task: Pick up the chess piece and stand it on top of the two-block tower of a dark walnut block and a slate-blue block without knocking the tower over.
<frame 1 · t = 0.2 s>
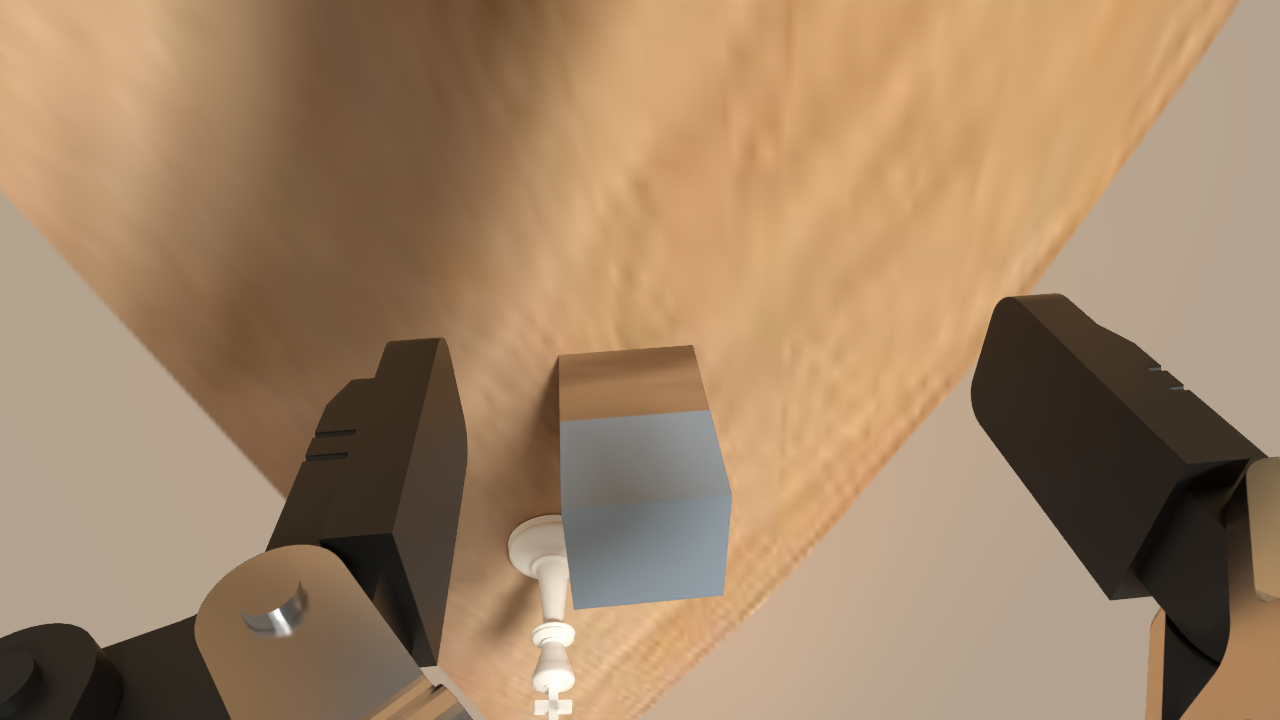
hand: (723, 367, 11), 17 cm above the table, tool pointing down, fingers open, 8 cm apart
chess piece: (553, 540, 40), on the table
slate-blue block: (637, 468, 30), point 4 cm above the table, touching walnut block
walnut block: (628, 399, 34), on the table, touching slate-blue block
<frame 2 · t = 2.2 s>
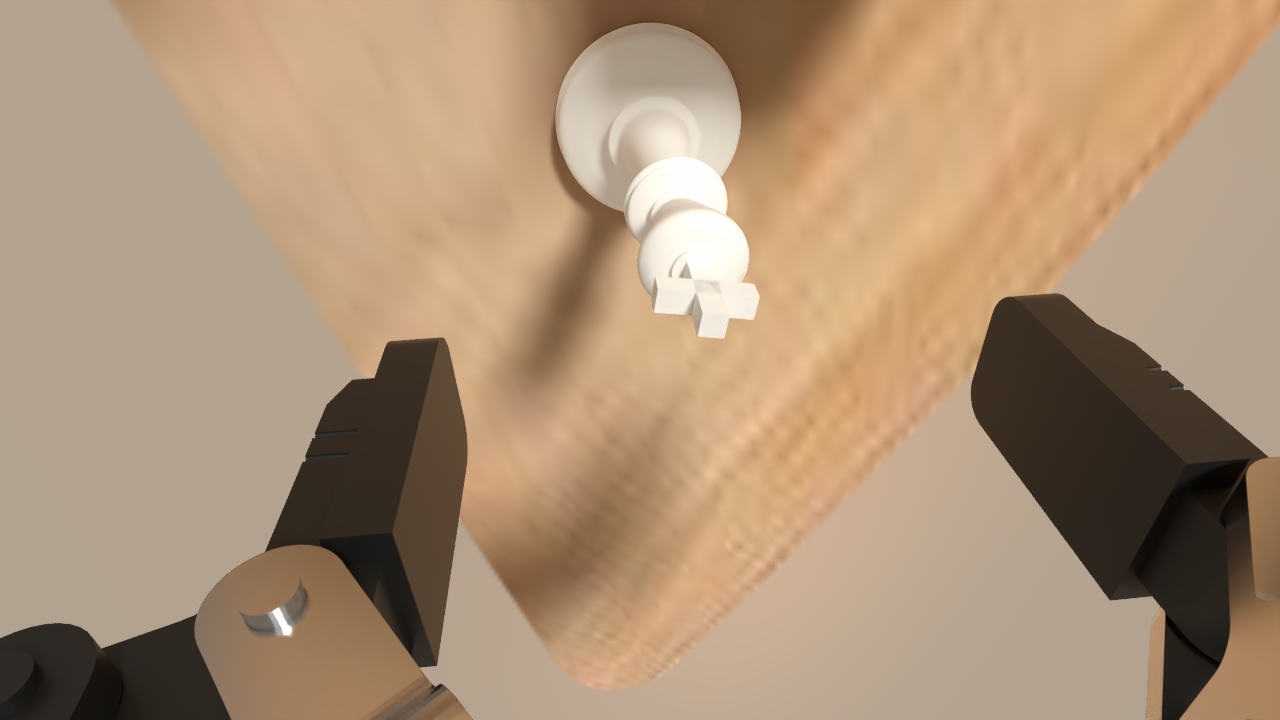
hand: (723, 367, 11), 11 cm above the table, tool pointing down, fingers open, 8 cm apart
chess piece: (647, 119, 19), on the table
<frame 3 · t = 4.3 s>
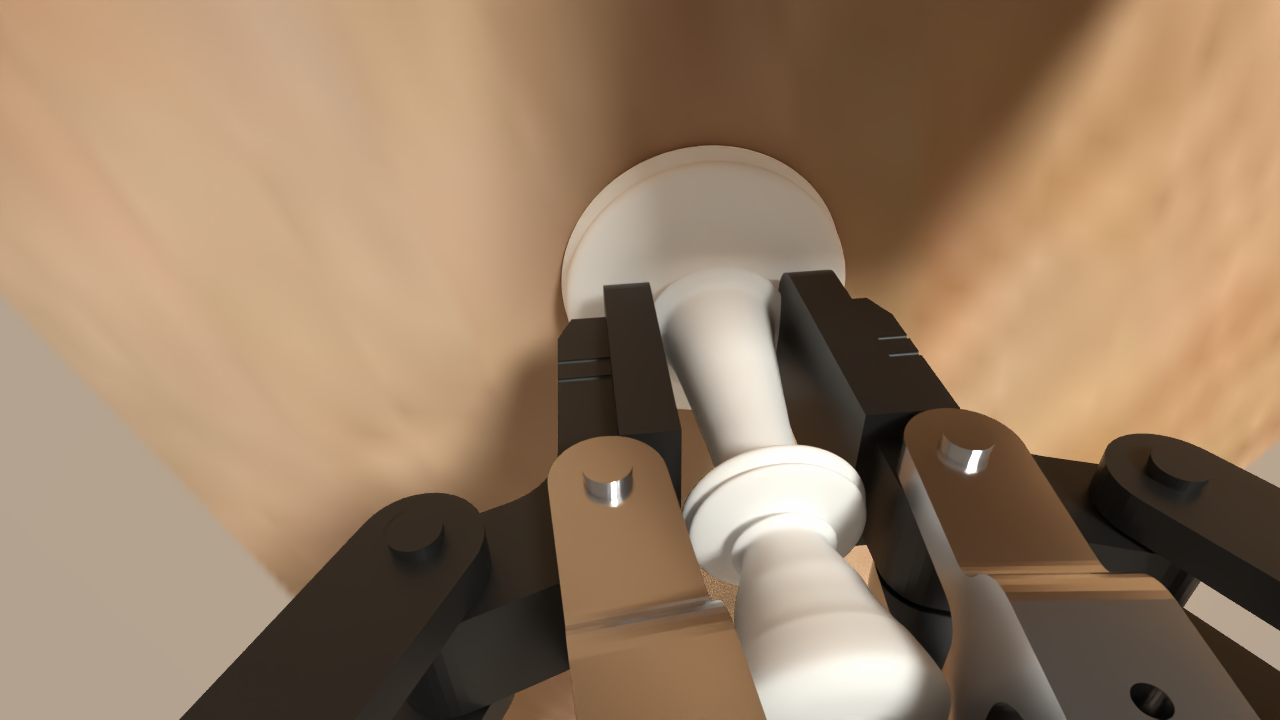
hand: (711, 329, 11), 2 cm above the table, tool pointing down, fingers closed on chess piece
chess piece: (699, 275, 13), on the table, touching gripper
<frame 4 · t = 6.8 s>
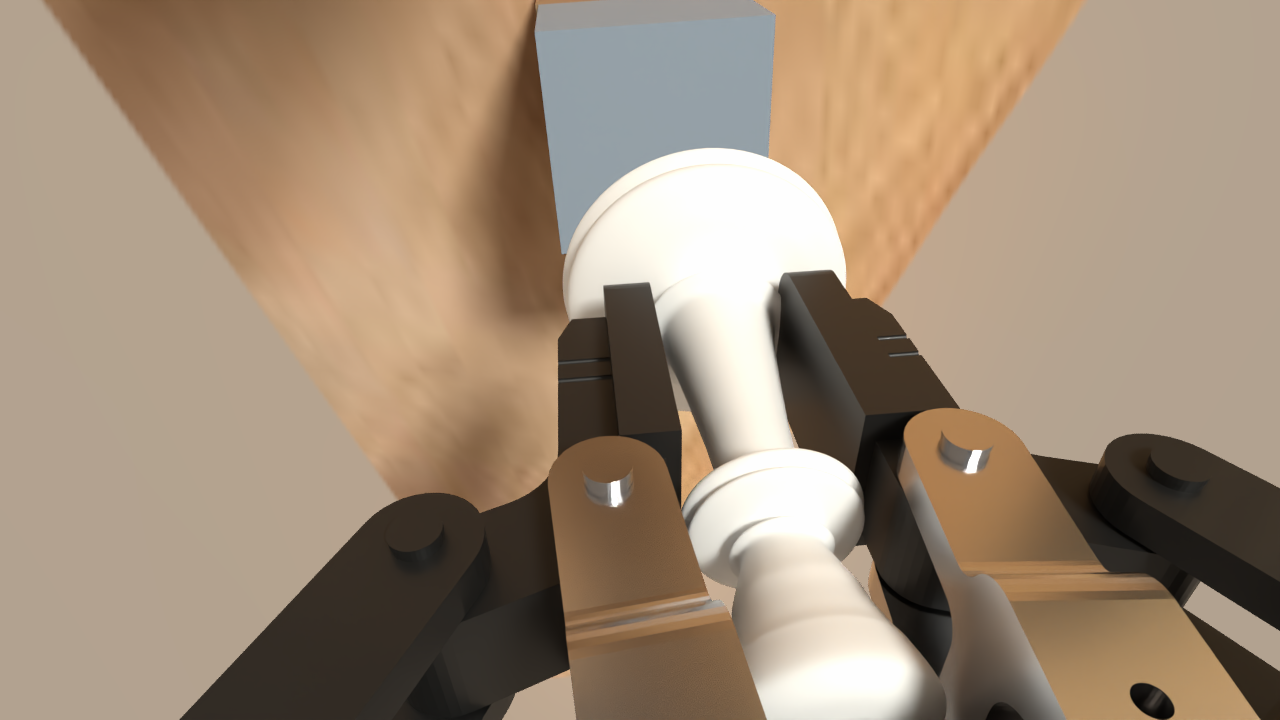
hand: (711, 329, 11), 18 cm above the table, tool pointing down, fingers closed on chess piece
chess piece: (700, 278, 13), point 17 cm above the table, touching gripper
slate-blue block: (643, 100, 23), point 4 cm above the table, touching walnut block
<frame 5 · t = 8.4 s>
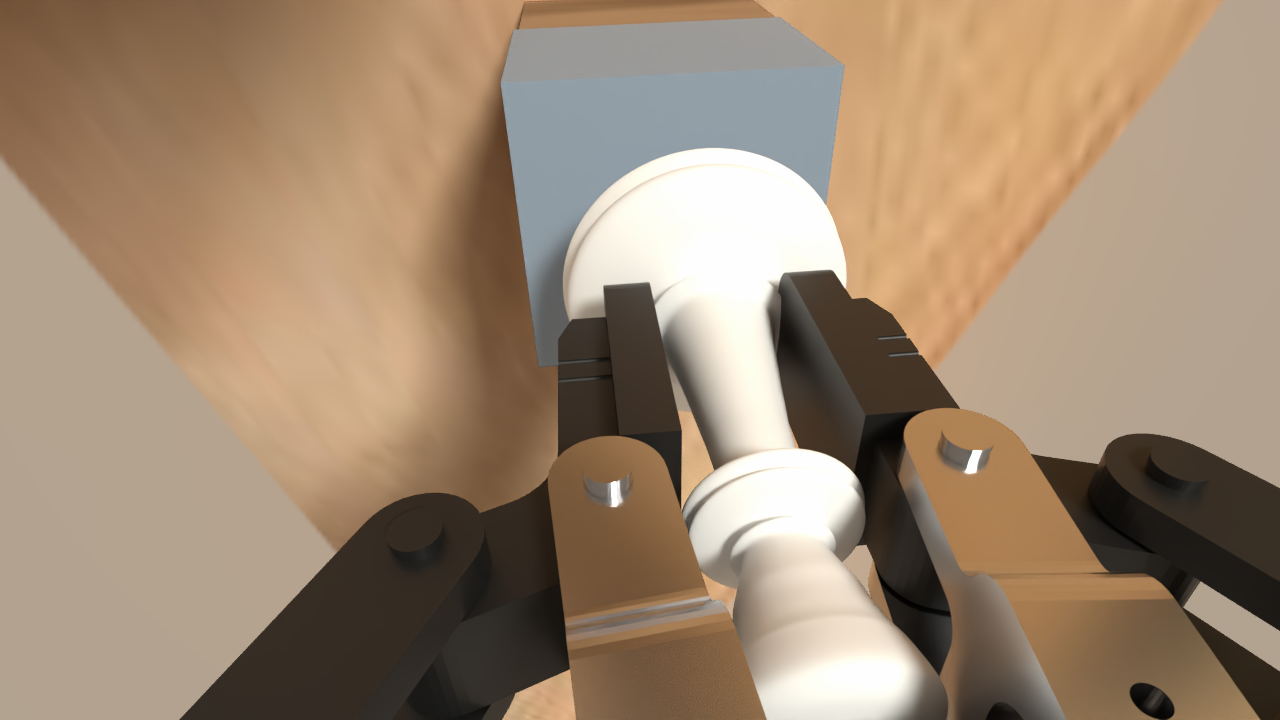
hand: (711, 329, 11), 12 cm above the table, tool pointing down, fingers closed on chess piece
chess piece: (700, 278, 13), point 10 cm above the table, touching gripper
slate-blue block: (650, 154, 18), point 4 cm above the table, touching walnut block
walnut block: (637, 106, 22), on the table, touching slate-blue block
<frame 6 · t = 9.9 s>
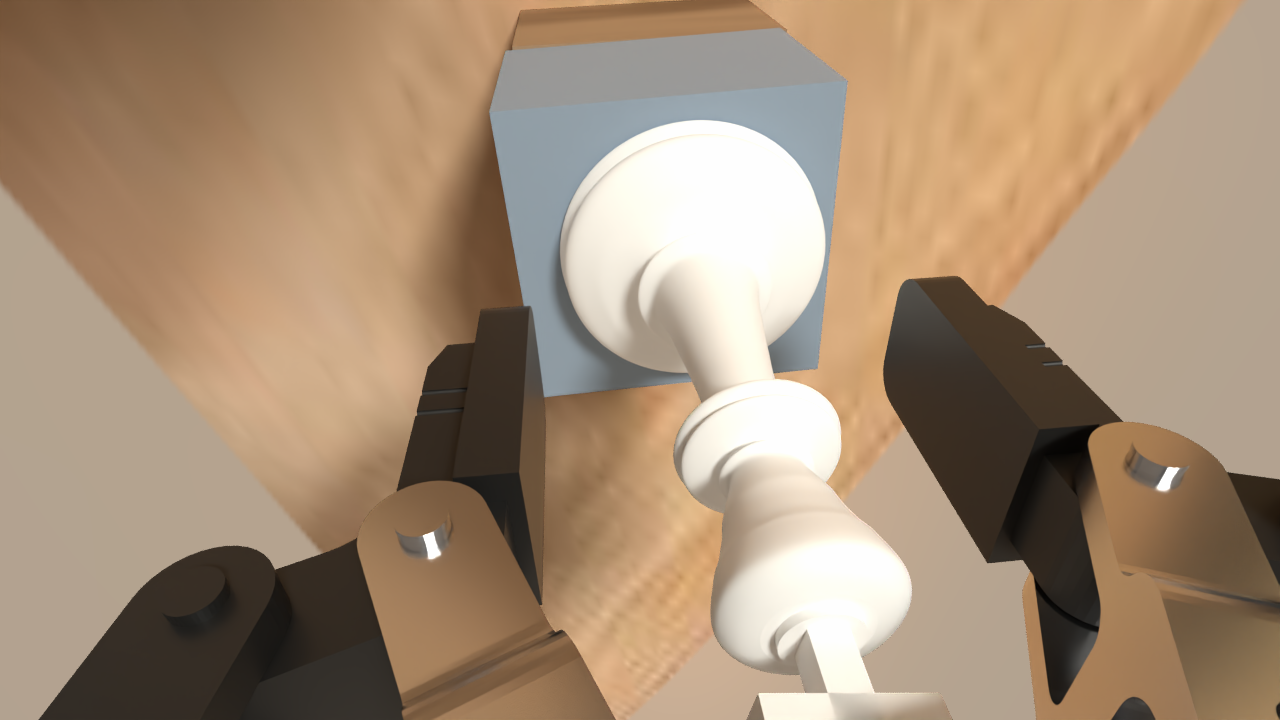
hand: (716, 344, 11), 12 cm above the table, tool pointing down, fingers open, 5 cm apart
chess piece: (689, 245, 14), point 9 cm above the table, touching slate-blue block
slate-blue block: (650, 172, 17), point 4 cm above the table, touching chess piece, walnut block
walnut block: (637, 116, 21), on the table, touching slate-blue block
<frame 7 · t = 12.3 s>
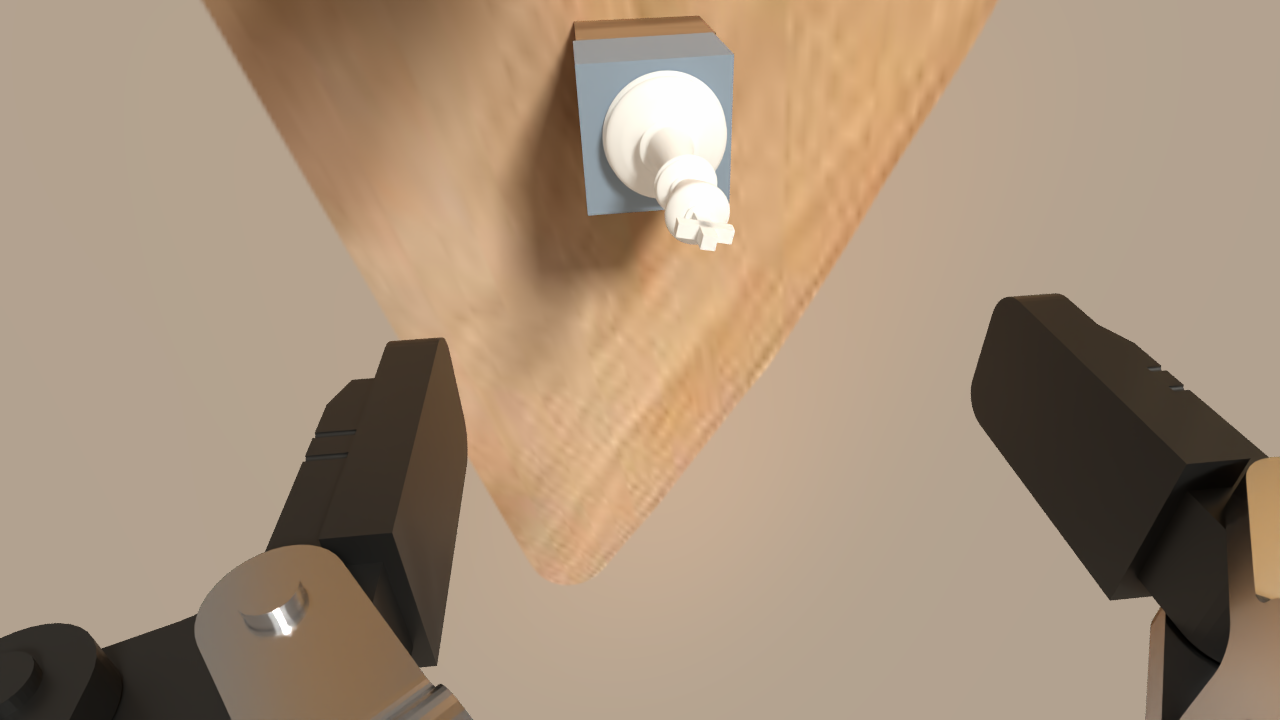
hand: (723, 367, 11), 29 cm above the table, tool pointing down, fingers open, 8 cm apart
chess piece: (663, 133, 29), point 9 cm above the table, touching slate-blue block
slate-blue block: (645, 108, 32), point 4 cm above the table, touching chess piece, walnut block
walnut block: (638, 84, 36), on the table, touching slate-blue block
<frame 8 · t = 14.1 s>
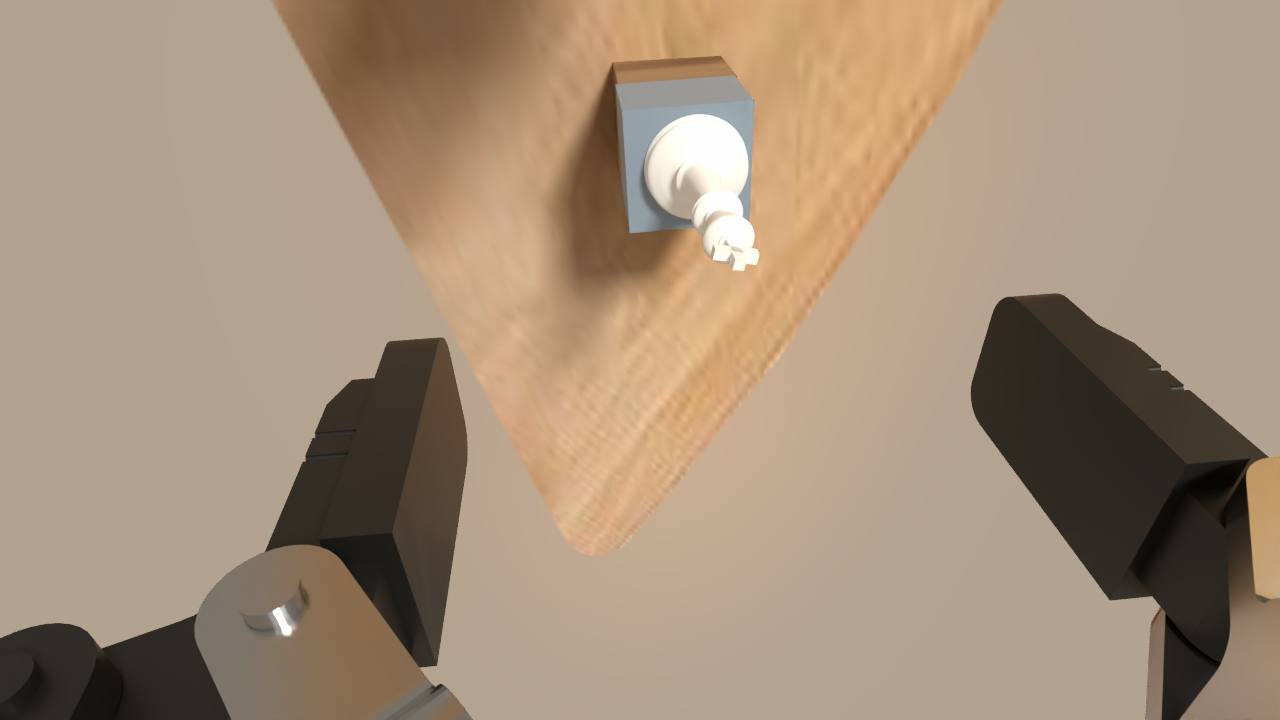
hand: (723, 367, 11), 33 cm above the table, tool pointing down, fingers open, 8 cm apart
chess piece: (695, 165, 34), point 9 cm above the table, touching slate-blue block
slate-blue block: (676, 139, 38), point 4 cm above the table, touching chess piece, walnut block
walnut block: (667, 114, 41), on the table, touching slate-blue block
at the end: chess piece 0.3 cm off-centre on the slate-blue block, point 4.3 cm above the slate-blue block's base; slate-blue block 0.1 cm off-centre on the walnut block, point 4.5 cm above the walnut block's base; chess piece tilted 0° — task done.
